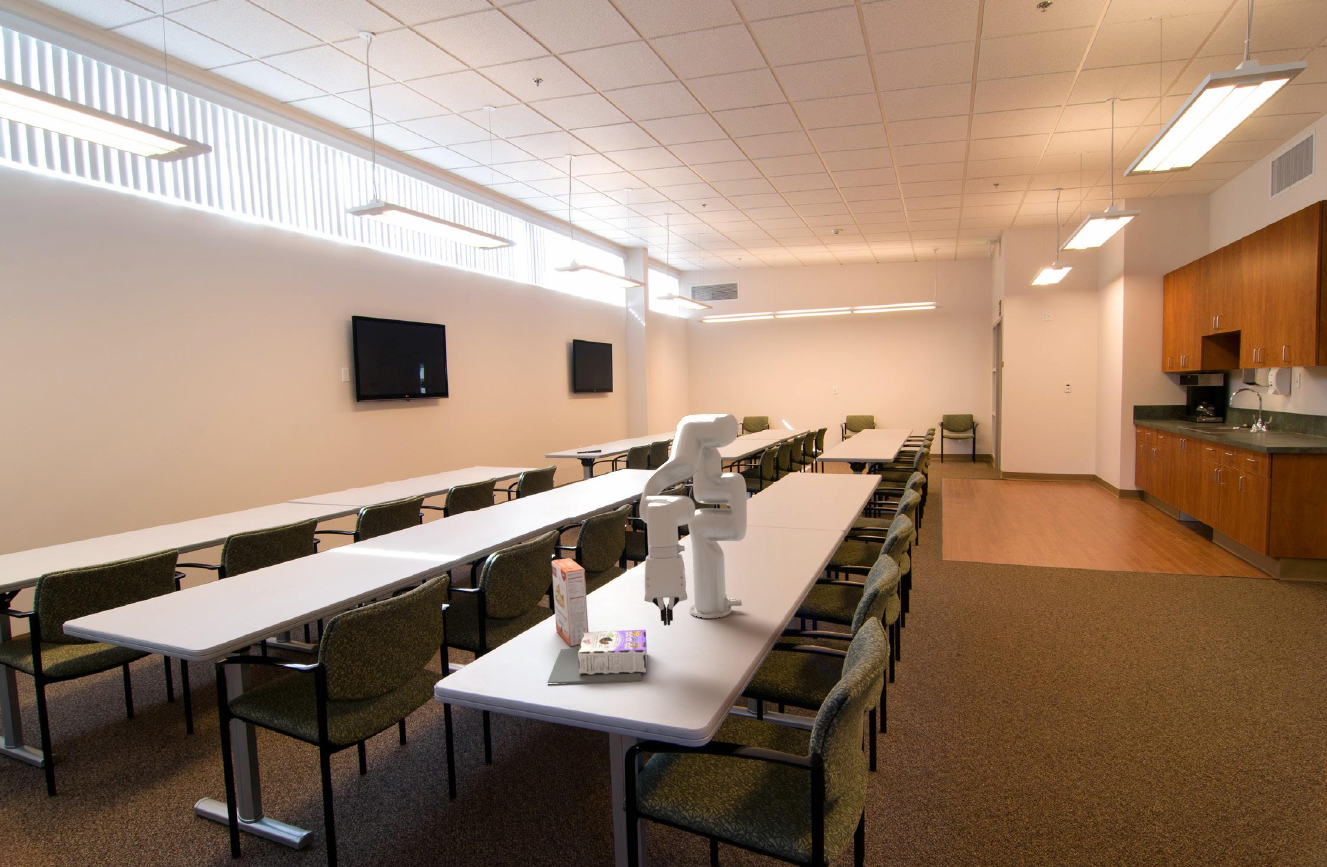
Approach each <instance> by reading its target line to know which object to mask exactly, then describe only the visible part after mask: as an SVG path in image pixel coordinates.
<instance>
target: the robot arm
mask: <svg viewBox="0 0 1327 867" xmlns="http://www.w3.org/2000/svg"><path fill="white" fill-rule="evenodd" d="M738 433H739V422H738V420H737V418H736V416H734V415H733V414H731V413H705V414H704V413H702V414H701V413H700V414H699V413H698V414H689V415H686V416H684V417H682V419H681V420H680V422H679V423H678V424H677V426H676V429H675V432H674V435H673V440H672V444H671V447H670V448H671V449H670V452H669V456H668V459H667V461H666V462H664V464H662V465H660V466H659V467H658V468H657V469H656V470H654V472H653V473H652V474H651V475H650V476H649V478H648V479H647V480H646V482H645V484H644V488H643V490H642V494H641V498H640V501H639V509H638V510H639V511H638V512H639V516H640V519H641V521H643V522H644V523H645V524H646V528H647V547H648V548H647V549H648V550H647V551H648V555H646V557H645V563H644V601H645V602H648V603H653V604H654V606H656V607H658V609H659V610H660V622H663V626H671V622H672V621H674V612H673V610H674V607H675V606H677V604H678V603H679V602H684V601H686V600H688V593H687V589H686V588H687V581H686V572H685V571H686V570H685V563H684V558H683V555H682V554H681V553H682V552H685V549H686V548H685V545H680V543H679V531H678V530H679V528H678V527H681V526H686V525H687V527H688V532H689V536H690V541H691V542H690V543H691V551H692V569H693V570H692V571H693V592H694V593H693V594H694V595H693V596H694V604H692V605H691V606H690V608H689V612H690V614H691V615H692V616H694V617H696V616H697V617H696V618H700V617H702V618H701V619H719V617H720V618H724V617H727V616H729V615H730V614H731V613H732V607H741V606H743V603H742V599H738V598H737V597H732V598H731V597H728V596H727V590H726V565H725V563H726V562H725V555H724V554H725V553H724V551H723V549H722V547H721V546H720V544H719V543H718V542H739V541H740V542H741V541H743V540H744V539H745V537H746V536H747V535H746V534H747V529H748V528H747V527H748V523H747V522H748V518H747V516H748V514H747V513H748V511H747V510H748V507H747V504H748V503H747V484H746V480H745V478H744V476H743V474H741V473H738V472H733V471H731V472H730V471H729V472H728V471H727V472H725V471H724V472H723V471H722V455H721V453H720V451H719V448H725V447H728V445H730V444H732V443H733V442H735V441H736V439H737V437H738ZM690 477H692V478H693V479H692V483H693V484H692V485H693V487H692V490H693V497H694V499H695V501H696V502H697V503H700V504H704V505H705V504H707V505H728V506H729V508H714V507H713V508H697V509H696V505H695V502H694V501H693V499H692V498H691V497H689V496H686V495H669V494H666V495H665V494H662V495H661V493H662V492H663V490H664V489H665V490H666V488H668V487H669V486H671V485H674V484H676V483H679V482H680V481H681V482H682V481H684V480H685V479H689V478H690ZM664 598H665V599H666V598H667V599H668V598H669V599H668V604H667V605H666V604H665V602H664Z"/></svg>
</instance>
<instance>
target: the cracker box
mask: <svg viewBox="0 0 1327 867" xmlns="http://www.w3.org/2000/svg"><path fill="white" fill-rule="evenodd" d="M551 571H552V574H551V575H552V589H553V600H554V601H553V602H554V604H553V605H554V616H555V629H556V632H557V634H559V635H560V637H561V638H562V639H563V640H564V641H565V643H566V644H567V645H568V647H575V646H580V645H581V642H582V638H583V633H585V632H589V622H588V621H589V619H588V603H587V602H588V601H587V587H586V586H587V585H586V570H585V568H583V567H582V566H581V565H579V564H578V563H577V562H576V561H574V560H573V559H572V558H570V557H567V558H562V559H554V560H552V561H551Z"/></svg>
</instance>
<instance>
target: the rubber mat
mask: <svg viewBox="0 0 1327 867" xmlns="http://www.w3.org/2000/svg"><path fill="white" fill-rule="evenodd" d="M579 649H580V648H563V649H562V648H561V649H560V650H559V653H558V655H557V657H556V660H555V662H554V665H553V668H552V669H551V670H552V671H551V673H550V675H549V678H548V680H547V682H546V683H582V684H599V683H600V684H601V683H603V684H604V683H622V682H623V683H625V682H626V683H627V682H628V683H629V682H641V681H642V673H622V674H595V675H579V664H578V651H579Z"/></svg>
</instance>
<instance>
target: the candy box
mask: <svg viewBox="0 0 1327 867" xmlns="http://www.w3.org/2000/svg"><path fill="white" fill-rule="evenodd" d="M647 644H648V643H647V631H646V629H638V630H637V629H633V630H632V629H629V630H613V631H612V630H611V631H609V630H607V631H588V632H585V633H583V638H582V642H581V645H579V648H578V649H579V651H578V664H579V675H595V674H622V673H641V674H647V662H648V658H647V653H648V652H647V651H648V649H647V647H648V645H647Z"/></svg>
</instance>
